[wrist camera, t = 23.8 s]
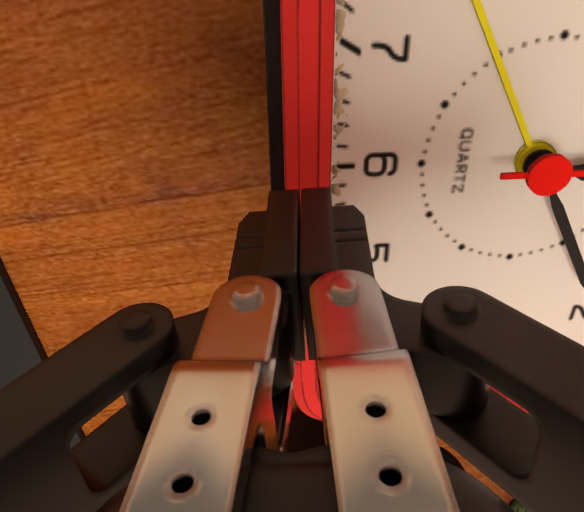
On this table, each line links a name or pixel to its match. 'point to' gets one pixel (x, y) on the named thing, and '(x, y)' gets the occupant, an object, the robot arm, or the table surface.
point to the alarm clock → (439, 143)
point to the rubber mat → (18, 340)
